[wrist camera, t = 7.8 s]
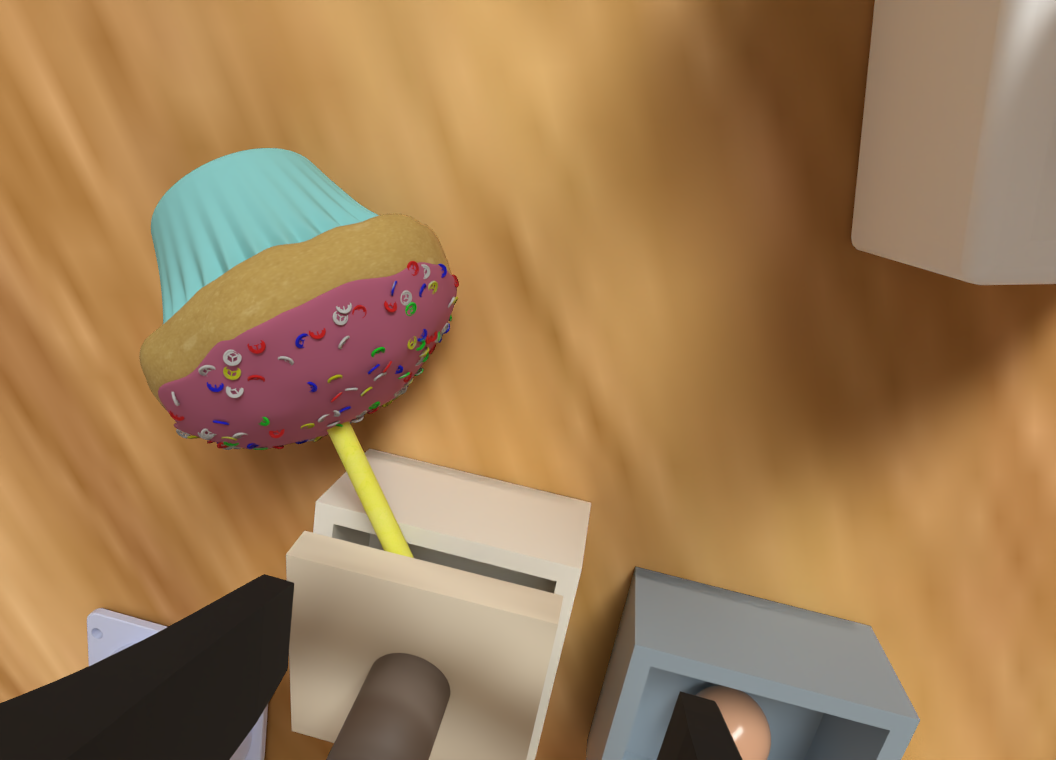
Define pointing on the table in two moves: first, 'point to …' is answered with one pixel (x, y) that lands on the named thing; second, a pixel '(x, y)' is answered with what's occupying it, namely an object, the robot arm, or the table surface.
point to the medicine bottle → (961, 140)
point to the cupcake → (290, 311)
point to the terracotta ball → (742, 720)
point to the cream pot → (472, 532)
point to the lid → (413, 655)
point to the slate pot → (748, 674)
